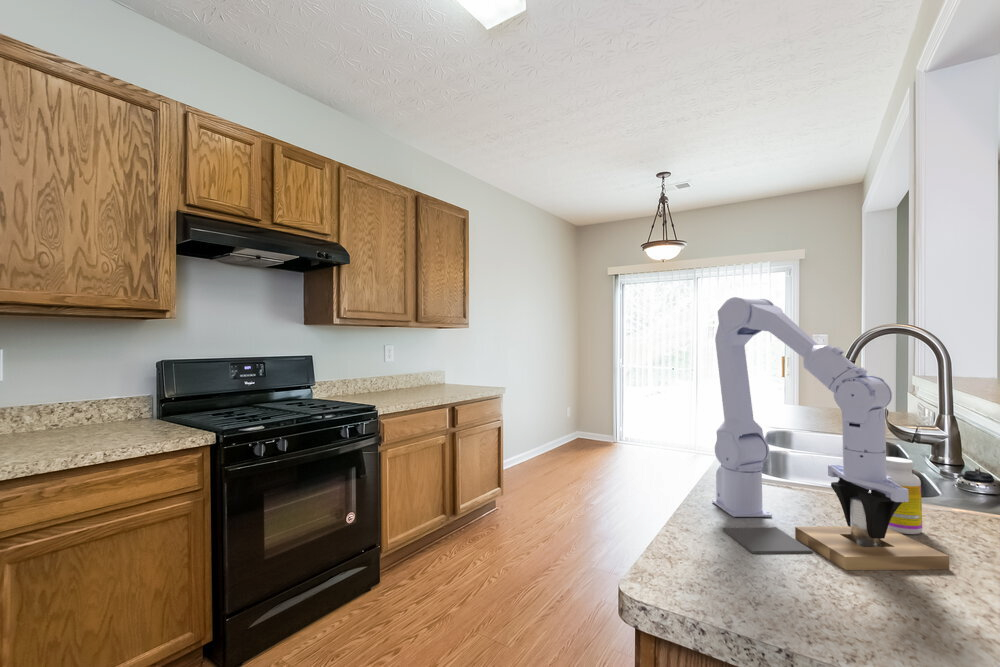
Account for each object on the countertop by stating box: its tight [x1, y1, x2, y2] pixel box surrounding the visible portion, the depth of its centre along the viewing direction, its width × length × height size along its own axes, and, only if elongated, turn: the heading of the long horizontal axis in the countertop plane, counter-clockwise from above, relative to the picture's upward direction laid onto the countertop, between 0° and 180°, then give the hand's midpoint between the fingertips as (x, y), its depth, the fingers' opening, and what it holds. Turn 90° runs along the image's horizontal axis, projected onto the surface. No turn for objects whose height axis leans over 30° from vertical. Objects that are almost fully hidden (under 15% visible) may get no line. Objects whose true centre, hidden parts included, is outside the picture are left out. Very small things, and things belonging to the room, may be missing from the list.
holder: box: [794, 525, 950, 571], centre depth 78 cm, size 12×16×2 cm
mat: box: [722, 526, 814, 555], centre depth 83 cm, size 10×10×1 cm
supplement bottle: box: [886, 456, 923, 535], centre depth 88 cm, size 7×7×13 cm
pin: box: [850, 496, 881, 547], centre depth 78 cm, size 4×4×8 cm
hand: (865, 531), depth 78 cm, fingers closed on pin, 4 cm apart
